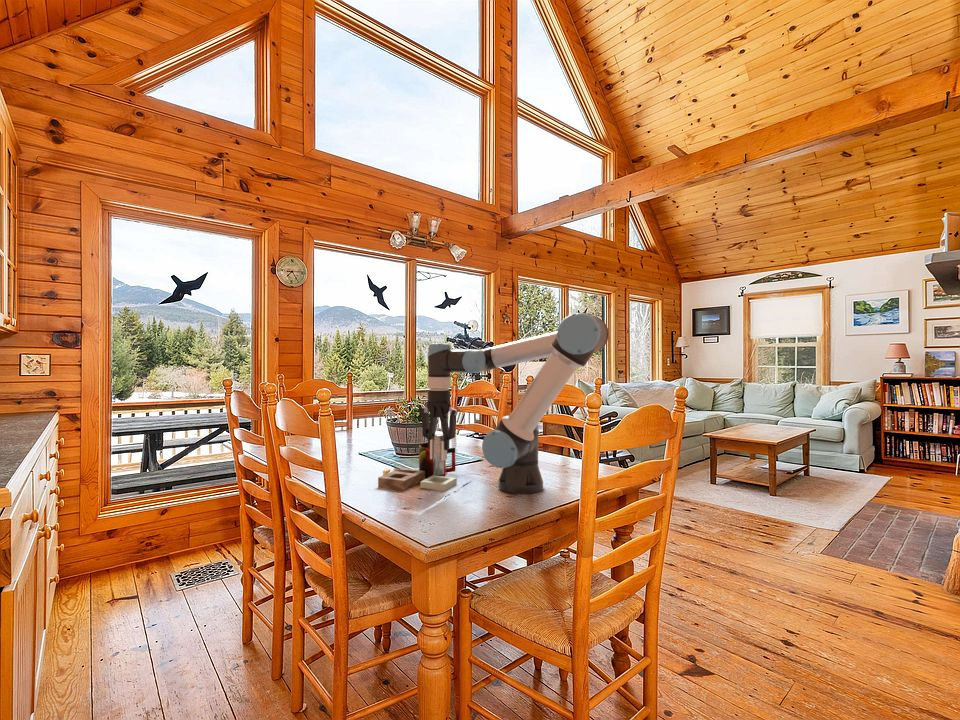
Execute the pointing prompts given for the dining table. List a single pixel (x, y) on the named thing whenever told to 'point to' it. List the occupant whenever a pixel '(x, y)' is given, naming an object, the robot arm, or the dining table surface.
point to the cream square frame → (438, 482)
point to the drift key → (386, 471)
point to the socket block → (401, 479)
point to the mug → (427, 463)
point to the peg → (437, 455)
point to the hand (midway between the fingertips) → (438, 458)
